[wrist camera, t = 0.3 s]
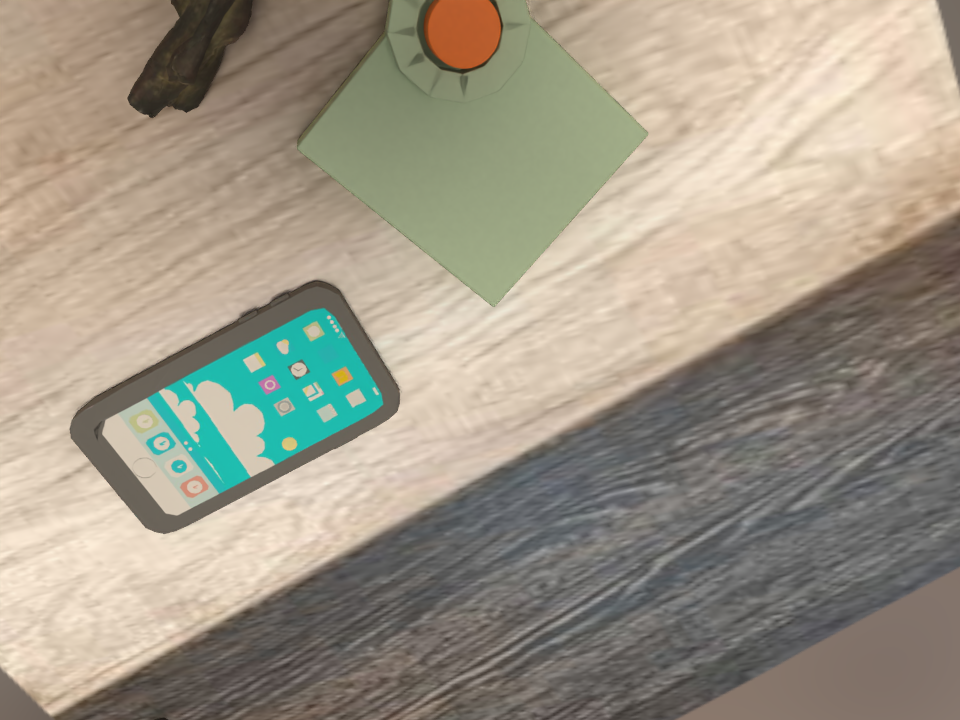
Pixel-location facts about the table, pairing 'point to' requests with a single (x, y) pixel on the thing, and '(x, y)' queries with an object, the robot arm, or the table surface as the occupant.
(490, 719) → the table surface
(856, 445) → the table surface
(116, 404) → the smartphone
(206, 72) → the statue
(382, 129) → the scale
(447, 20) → the button
